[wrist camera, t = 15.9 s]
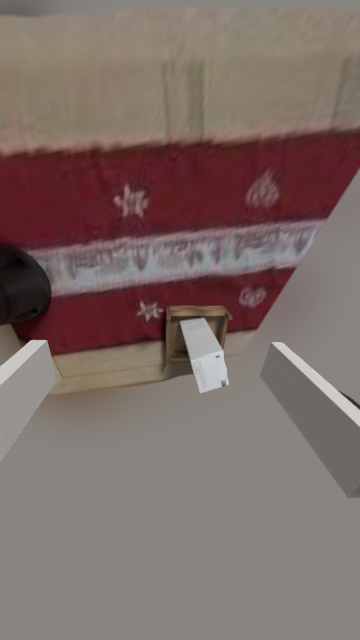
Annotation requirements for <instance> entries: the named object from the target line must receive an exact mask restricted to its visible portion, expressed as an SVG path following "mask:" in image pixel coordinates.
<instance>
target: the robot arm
mask: <svg viewBox="0 0 360 640" xmlns="http://www.w3.org/2000/svg"><path fill="white" fill-rule="evenodd" d="M50 298H51V286H50V282H49V280H48V277H47V275H46V273H45V272H44V270H43V269H42V267H41V266H40V265H39V264H38V263H37V262H36V261H35V260H34V259H33V258H32V257H31V256H29V255H28V254H26V253H25V252H23V251H21V250H20V249H18V248H15V247H13V246H10V245H6V244H1V243H0V326H1V325H4V324H11V323H17V322H23V321H26V320H29V319H32V318H33V317H35V316H37V315H38V314H40V313H41V312H43V311H44V310H45V309H46V307H47V306H48V304H49V302H50ZM260 377H261V378H262V380H263V381H264V383H265V384H266V385H267V387H268V388H269V389H270V390H271V392H272V394H273V395H274V396H275V398H276V399H277V401H278V402H279V403H280V405H281V406H282V407H283V409H284V410H285V412H286V413H287V414H288V415H289V417H290V419H291V420H292V421H293V422H294V424H295V425H296V427H297V428H298V429H299V431H300V432H301V434H302V435H303V436H304V438H305V439H306V441H307V442H308V443H309V445H310V446H311V448H312V449H313V450H314V452H315V453H316V454H317V456H318V457H319V459H320V460H321V461H322V463H323V464H324V466H325V467H326V468H327V470H328V471H329V472H330V474H331V475H332V477H333V478H334V479H335V481H336V482H337V484H338V485H339V486H340V488H341V489H342V490H343V492H344V493H345V495H346V496H347V497H348V498H357V497H360V405H359V404H357V403H356V402H355V401H354V400H353V399H351V398H350V397H348V396H346V395H345V394H343V393H342V392H340V391H338V390H336V389H335V388H334V387H333V386H332V385H330V384H329V383H328V382H327V381H326V380H325V379H324V378H322V377H321V376H320V375H319V374H318V373H317V372H315V371H314V370H313V369H312V368H311V367H310V366H309V365H307V364H306V363H305V362H304V361H303V360H302V359H300V358H299V357H298V356H297V355H296V354H295V353H294V352H292V351H291V350H290V349H289V348H288V347H287V346H286V345H284V344H283V343H281V342H271V344H270V347H269V350H268V353H267V356H266V359H265V362H264V365H263V368H262V371H261V374H260ZM56 380H57V378H56V374H55V370H54V366H53V362H52V358H51V354H50V350H49V346H48V342H47V340H31V341H30V342H29V343H27V344H26V345H25V346H24V347H23V348H21V349H20V350H19V351H18V352H17V353H16V354H14V355H13V356H12V357H11V358H10V359H9V360H8V361H6V362H5V363H4V364H3V365H2V366H0V462H1V461H2V459H3V458H4V456H5V455H6V453H7V452H8V451H9V449H10V448H11V446H12V445H13V443H14V442H15V440H16V439H17V437H18V436H19V434H20V433H21V432H22V430H23V429H24V427H25V426H26V424H27V423H28V421H29V420H30V418H31V417H32V415H33V414H34V412H35V411H36V410H37V408H38V406H39V405H40V404H41V402H42V401H43V399H44V398H45V396H46V395H47V393H48V392H49V391H50V389H51V388H52V386H53V385H54V383H55V382H56Z"/></svg>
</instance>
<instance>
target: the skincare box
mask: <svg viewBox="0 0 360 640" xmlns="http://www.w3.org/2000/svg"><path fill="white" fill-rule="evenodd" d="M179 322H180V326H181V329H182V332H183V336H184V340H185V343H186V347H187V351H188V355H189V359H190V362H191V366H192V370H193V373H194V377H195V380H196V383H197V386H198V389H199V392H200V393H202V392H205V391H209V390H212V389H216V388H219V387H222V386H225V385H228V384H229V382H228V378H227V368H226V366H225V362H224V353H223V350H222V348H221V346H220V344H219V343H218V341H217V339H216V337H215V336H214V334H213V332H212V330H211V329H210V327H209V325H208V323H207V322H206V320H205V318H204V317H203V316H196V317H192V318H188V319H184V320H181V321H179Z"/></svg>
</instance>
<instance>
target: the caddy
mask: <svg viewBox="0 0 360 640" xmlns="http://www.w3.org/2000/svg"><path fill="white" fill-rule="evenodd" d="M196 316H203V317H204V318H205V320H206V322H207V323H208V325H209V327H210V329H211V330H212V332H213V334H214V336H215V337H216V339H217V341H218V343H219V344H220V346H221V348H222V350H223V348H224V342H225V336H226V330H227V323H228V320H231V319H232V315H231V314H230V313H229V311H228V310H227V309H226V308H225V307H224V306H166V367H170V361H190V359H189V355H188V351H187V347H186V343H185V340H184V336H183V332H182V329H181V326H180V322H179V321H181V320H184V319H188V318H192V317H196Z"/></svg>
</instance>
